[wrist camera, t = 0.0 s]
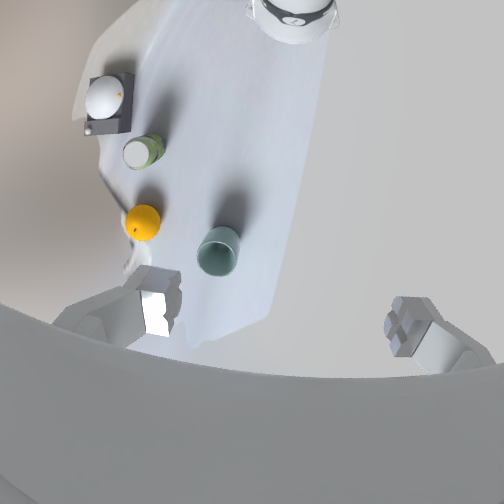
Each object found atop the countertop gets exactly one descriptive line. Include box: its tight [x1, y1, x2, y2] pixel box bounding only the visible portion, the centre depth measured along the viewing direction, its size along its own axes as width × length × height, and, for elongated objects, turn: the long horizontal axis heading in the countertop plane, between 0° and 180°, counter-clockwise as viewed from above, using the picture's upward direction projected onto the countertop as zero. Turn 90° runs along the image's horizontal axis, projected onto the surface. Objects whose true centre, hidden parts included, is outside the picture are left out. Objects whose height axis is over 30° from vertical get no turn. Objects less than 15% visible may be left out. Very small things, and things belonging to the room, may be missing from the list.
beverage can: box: [123, 134, 165, 170], centre depth 47 cm, size 6×7×12 cm
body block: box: [84, 73, 135, 136], centre depth 46 cm, size 13×10×6 cm
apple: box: [125, 204, 161, 241], centre depth 57 cm, size 8×8×8 cm
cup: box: [197, 226, 240, 277], centre depth 56 cm, size 8×8×10 cm
